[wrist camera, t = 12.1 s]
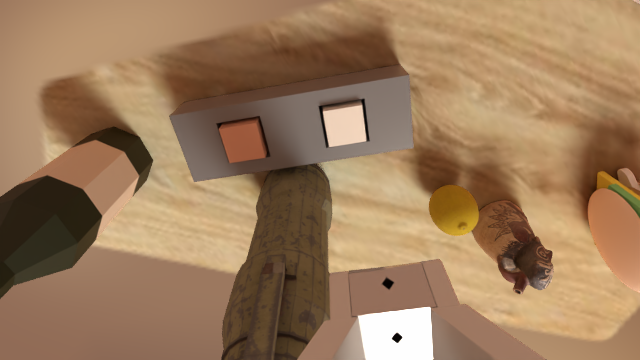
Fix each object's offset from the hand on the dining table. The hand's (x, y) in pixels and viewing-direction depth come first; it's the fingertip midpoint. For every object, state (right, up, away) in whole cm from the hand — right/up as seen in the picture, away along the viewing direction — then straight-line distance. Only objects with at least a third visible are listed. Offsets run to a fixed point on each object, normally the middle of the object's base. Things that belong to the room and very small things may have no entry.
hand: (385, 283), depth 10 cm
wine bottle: (-27, +6, +37) cm, 46 cm away
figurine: (+22, -3, +42) cm, 47 cm away
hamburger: (+37, -1, +40) cm, 55 cm away
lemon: (+14, +1, +40) cm, 42 cm away
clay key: (-10, +8, +33) cm, 35 cm away
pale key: (+1, +10, +32) cm, 33 cm away
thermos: (-5, +2, +39) cm, 40 cm away
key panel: (-5, +10, +34) cm, 36 cm away
